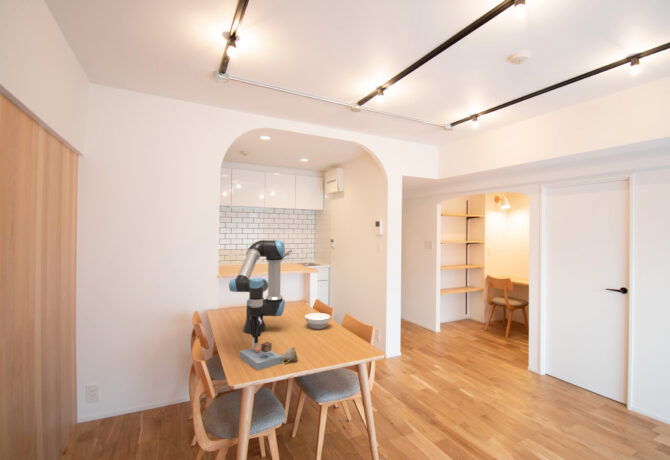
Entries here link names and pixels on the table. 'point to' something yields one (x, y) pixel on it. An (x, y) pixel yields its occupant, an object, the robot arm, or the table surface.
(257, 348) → the ball
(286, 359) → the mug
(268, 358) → the grey flat block
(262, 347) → the walnut cube
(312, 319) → the bowl
